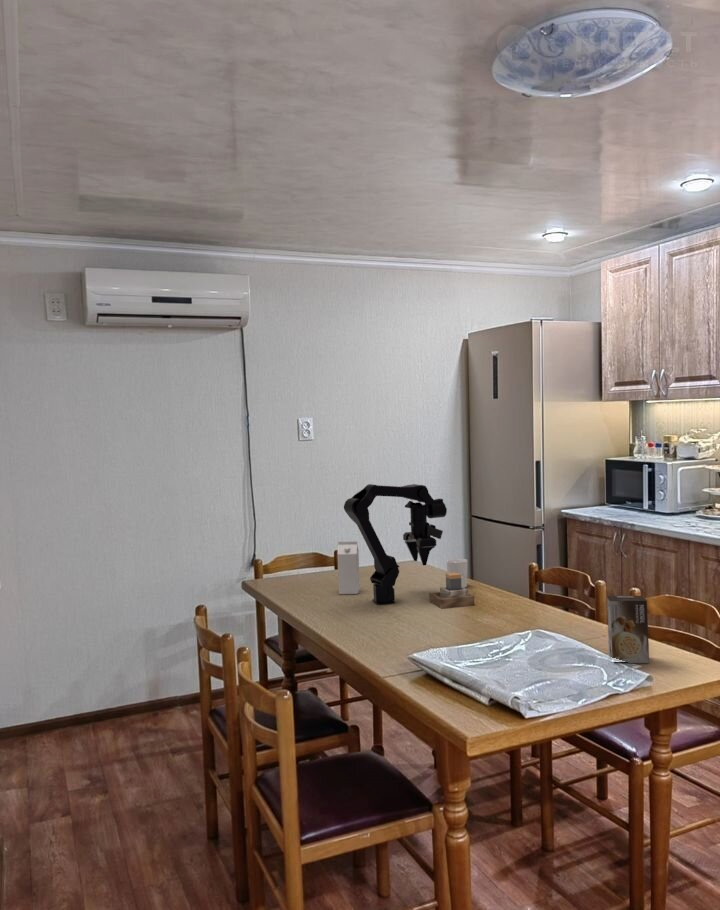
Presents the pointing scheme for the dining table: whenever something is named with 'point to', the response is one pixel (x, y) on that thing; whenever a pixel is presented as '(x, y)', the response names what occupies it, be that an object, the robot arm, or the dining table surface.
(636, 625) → the coffee box
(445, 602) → the walled box
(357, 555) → the milk carton
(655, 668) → the dining table surface
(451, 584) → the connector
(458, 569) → the white cup
